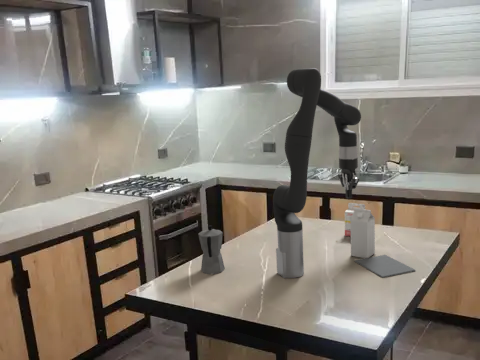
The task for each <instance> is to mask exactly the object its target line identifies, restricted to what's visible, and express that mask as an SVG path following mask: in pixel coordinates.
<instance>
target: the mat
mask: <svg viewBox="0 0 480 360" xmlns="http://www.w3.org/2000/svg"><path fill="white" fill-rule="evenodd" d="M354 262H355V263H356V264H358V265H359V266H361V267H363V268H365V269H367V270H369V271H370V272H372V273H374V274H375V275H376V276H379V277H380V278H388V277H394V276H398V275H403V274H408V273H413V272H416V268H413V267H411V266H409V265H407V264H405V263H403V262H401V261H399V260H397V259H394V258H393V257H390V256H389V255H388V254H382V255H376V256H370V257H369V258H360V259H355V260H354Z"/></svg>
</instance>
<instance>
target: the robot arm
mask: <svg viewBox="0 0 480 360" xmlns="http://www.w3.org/2000/svg"><path fill="white" fill-rule="evenodd" d="M286 86H287V88H288V90H289V92H290V93H292V94H294V95H296V96H297V97H300V98H302V99H301V103H300V106H299V109H298V111H297V112H296V114H295V116H294V117H293V119H292V120H291V121H290V123H289V125H288V126H287V129H286V132H285V139H284V153H285V156H286V160H287V164H288V166H289V170H290V183H289V185H287V184H282V185H278V186H277V187H276V189H275V190H274V192H273V196H272V206H273V217H274V222H275V224H276V231H277V232H276V233H277V234H276V235H277V248H275V253H276V257H275V258H276V273H277V274H278V275H279V276H281V278H282V279H294V278H300V277H302V276H304V274H305V264H304V263H305V261H304V238H303V237H304V236H303V235H304V234H303V231H304V230H303V221H302V220H301V219H300V218H299V217H298V216H297V214H298V213H301V212H302V211H303V209H304V208H305V205H306V202H307V196H308V193H307V192H308V191H307V190H308V172H309V171H308V170H309V161H310V152H311V146H312V140H313V139H312V138H313V129H314V122H315V116H316V109H317V106H318V107H319V108H320V109H322V110H323V111H325V112H326V113H327V114H329V115H331V117H333V120H334V124H335V127H336V131H337V134H338V145H339V146H338V168H339V169H340V170H341V173H340V174H338V176H337V177H338V179H339V181H340V184H341V186H342V188H344V190H345V198H346V199H349V200H350V199H352V198H353V190H354V189H355V190H356V188H357V186H358V184H359V183H360V178H359V177H357V176H356V175H357V173H356V170H357V169H358V167H359V164H358V163H359V162H358V158H359V157H358V155H359V153H358V144H357V143H358V137H357V135H358V134H357V132H355V131H353V130H350V129H349V127H348V126H356V125H358V124H359V123H360V122H361V120H362V113H361V111H360V110H359V108H358V107H356V106H355V105H352V104H350V103H348V102H345V101H343V100H342V99H341V98H340V97H338V96H337V95H336V94H334V93H332V92H331V91H328V90H325V89H322V88H321V87H322V75H321V73H320V70H319V69H318V68H315V67H308V68H306V67H305V68H296V69H293V70H291V71H290V72H289V73H288V75H287V77H286Z"/></svg>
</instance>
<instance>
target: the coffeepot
mask: <svg viewBox="0 0 480 360" xmlns="http://www.w3.org/2000/svg"><path fill="white" fill-rule="evenodd" d="M207 228H208V229H206V230H202V231H200V232H199V233H198V239H199V243H200V247H201V250H202V253H203V254H202V258H201V268H200V271H201V272H202V273H203V274H206V275H216V274H219V273H222V272H224V270H225V268H226V267H225V264H224V258H223V256H222V255H223V254H222V253H221V250H222V246H223V245H222V244H223V231H221V229H215V228H213V225H208V226H207Z"/></svg>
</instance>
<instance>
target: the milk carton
mask: <svg viewBox="0 0 480 360" xmlns="http://www.w3.org/2000/svg"><path fill="white" fill-rule="evenodd" d="M375 221H376V218H375V216H374V214H372V210H371V209H366V208H365V209H356V208H354V213H353V215H352V217H351V236H350V256H351V257H352V256H353V257H357V258H360V259H364V258H370V257H373V255H375V253H376V245H375V243H376V241H375V240H376V238H375V236H376V233H375V232H376V230H375V229H376V227H375V226H376V223H375Z"/></svg>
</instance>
